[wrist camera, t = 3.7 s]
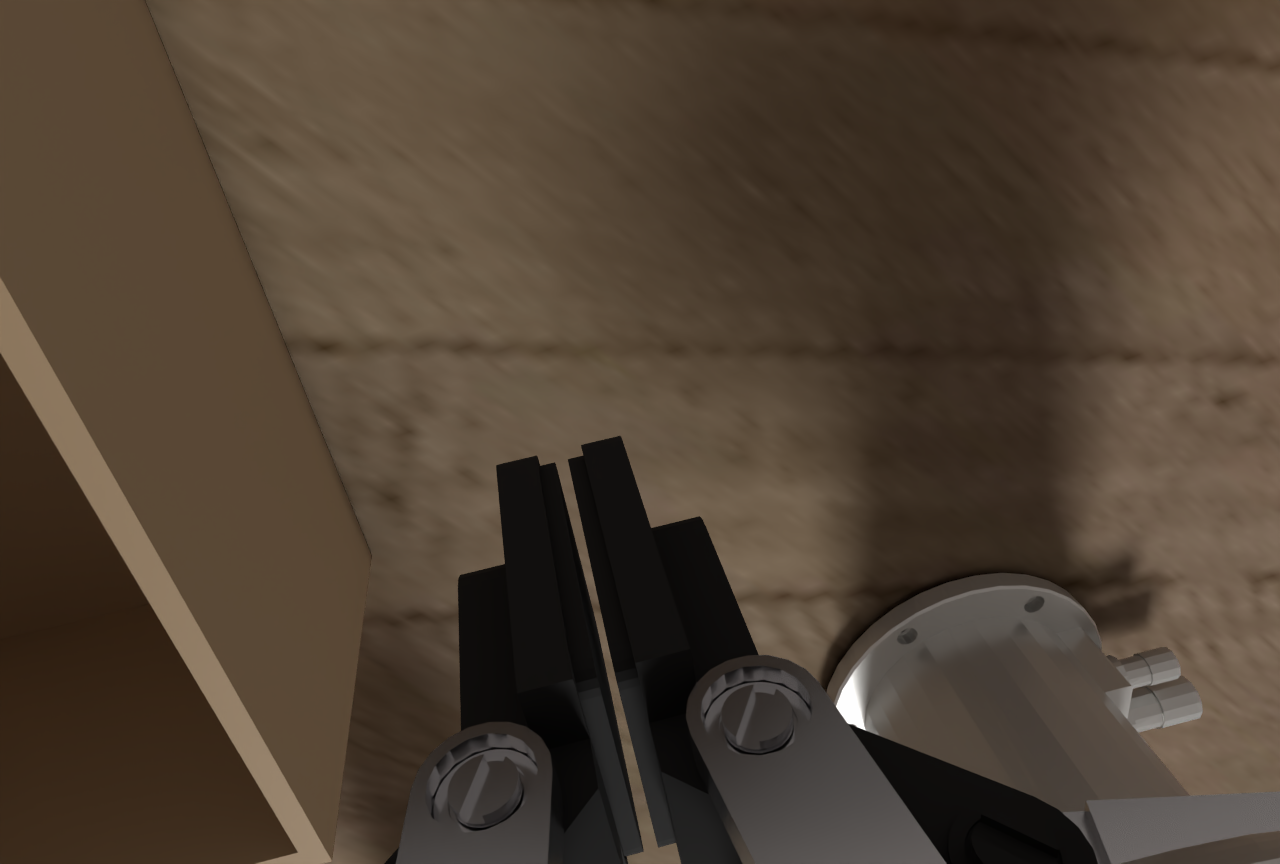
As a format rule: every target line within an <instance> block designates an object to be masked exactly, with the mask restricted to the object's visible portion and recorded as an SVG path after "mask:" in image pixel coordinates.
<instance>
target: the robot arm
mask: <svg viewBox="0 0 1280 864" xmlns="http://www.w3.org/2000/svg"><path fill="white" fill-rule="evenodd" d="M581 447H582V451H583V455H584V456H580V457H576V458H571V459H568V462H569V467H570V471H571V476H572V481H573V485H574V490H575V494H576V499H577V504H578V508H579V513H580V517H581V522H582V526H583V531H584V536H585V540H586V545H587V549H588V554H589V558H590V563H591V568H592V572H593V577H594V581H595V586H596V591H597V595H598V600H599V604H600V609H601V613H602V618H603V623H604V627H605V632H606V636H607V641H608V645H609V650H610V654H611V659H612V663H613V667H614V672H615V676H616V680H617V684H618V688H619V692H620V696H621V700H622V704H623V708H624V712H625V716H626V720H627V724H628V728H629V732H630V736H631V740H632V744H633V748H634V752H635V756H636V760H637V764H638V768H639V772H640V776H641V780H642V784H643V788H644V792H645V796H646V800H647V805H648V809H649V813H650V817H651V821H652V825H653V829H654V833H655V837H656V841H657V844H658V847H662V846H666V845H669V844H673V843H676V844H677V848H678V852H679V856H680V860H681V864H1280V792H1264V793H1242V794H1220V795H1198V796H1190V795H1189V794H1188V792H1187V791H1186V790H1185V789H1184V788H1183V786H1182V785H1181V784H1180V783H1179V782H1178V780H1177V779H1176V778H1175V777H1174V775H1173V774H1172V773H1171V772H1170V771H1169V769H1168V768H1167V767H1166V766H1165V765H1164V763H1163V762H1162V761H1161V760H1160V758H1159V757H1158V756H1157V755H1156V754H1155V752H1154V751H1153V750H1152V749H1151V748H1150V746H1149V745H1148V744H1147V743H1146V742H1145V740H1144V739H1143V738H1142V737H1141V735H1140V734H1139V733H1138V732H1142V731H1146V730H1149V729H1153V728H1156V729H1160V728H1164V727H1168V726H1171V725H1175V724H1179V723H1183V722H1186V721H1190V720H1194V719H1198V718H1200V717H1201V714H1202V712H1203V710H1202V702H1201V699H1200V697H1199V694H1198V692H1197V690H1196V689H1195V687H1194V686H1193V685H1192V683H1191V682H1190V681H1189V680H1188V679H1186V678H1185V677H1184V676H1180V675H1181V672H1180V665H1179V662H1178V660H1177V658H1176V656H1175V655H1174V653H1173V652H1172V651H1171V650H1170V649H1168V648H1167V647H1160V648H1156V649H1152V650H1148V651H1144V652H1141V653H1137V654H1134V655H1133V656H1132V657H1128V658H1124V659H1120V660H1118V659H1117V658H1115V657H1113V656H1111V655H1108V656H1105V654H1104V653H1103V652H1102V645H1101V638H1100V635H1099V632H1098V629H1097V626H1096V624H1095V622H1094V621H1093V619H1092V618H1091V617H1090V615H1089V614H1088V613H1087V611H1086V610H1085V609H1084V608H1083V607H1082V606H1081V605H1080V603H1079V602H1078V601H1077V600H1076V599H1075V598H1074V597H1073V596H1072V595H1071V594H1070V593H1069V592H1068V591H1066V590H1065V589H1063V588H1061V587H1059V586H1058V585H1056V584H1054V583H1052V582H1050V581H1048V580H1045V579H1041V578H1037V577H1034V576H1030V575H1025V574H1012V573H995V574H985V575H975V576H971V577H967V578H963V579H959V580H955V581H951V582H947V583H945V584H942V585H940V586H937V587H935V588H932V589H930V590H927V591H925V592H922V593H920V594H918V595H916V596H914V597H913V598H911V599H909V600H907V601H906V602H904V603H902V604H900V605H898V606H897V607H895V608H894V609H892V610H891V611H890V612H888V613H887V614H886V615H884V616H883V617H882V618H880V619H879V620H878V621H876V622H875V623H874V624H872V625H871V626H870V627H869V628H868V629H867V630H866V631H865V632H864V633H863V635H862V636H861V637H860V638H859V639H858V640H857V641H856V642H855V643H854V644H853V645H852V646H851V647H850V649H849V650H848V652H847V653H846V654H845V656H844V657H843V659H842V660H841V661H840V663H839V664H838V666H837V668H836V670H835V672H834V674H833V676H832V678H831V680H830V683H829V685H828V688H827V692H825V690H824V689H823V687H822V686H821V685H820V683H819V682H818V681H817V680H816V679H815V678H814V677H813V676H812V675H811V674H810V673H809V672H808V671H807V670H806V669H804V668H802V667H801V666H799V665H797V664H795V663H793V662H791V661H789V660H786V659H782V658H778V657H774V656H769V655H758V652H757V650H756V647H755V645H754V643H753V640H752V638H751V635H750V633H749V630H748V628H747V626H746V623H745V621H744V618H743V616H742V613H741V611H740V609H739V606H738V604H737V601H736V599H735V596H734V594H733V592H732V589H731V587H730V584H729V582H728V579H727V577H726V575H725V572H724V570H723V567H722V565H721V562H720V560H719V558H718V555H717V553H716V550H715V548H714V546H713V543H712V541H711V538H710V536H709V533H708V531H707V529H706V526H705V524H704V522H703V520H702V518H701V517H700V516H699V517H695V518H691V519H687V520H683V521H679V522H675V523H671V524H667V525H662V526H658V527H654V528H651V527H650V524H649V521H648V518H647V515H646V511H645V508H644V505H643V502H642V499H641V496H640V493H639V490H638V487H637V484H636V481H635V478H634V475H633V471H632V468H631V465H630V462H629V459H628V456H627V453H626V450H625V447H624V444H623V441H622V438H621V436H617V437H613V438H609V439H605V440H600V441H596V442H592V443H588V444H584V445H581ZM496 468H497V481H498V492H499V503H500V514H501V524H502V535H503V546H504V557H505V564H504V565H500V566H495V567H491V568H487V569H483V570H479V571H475V572H471V573H467V574H463V575H460V577H459V580H458V607H459V654H460V702H461V731H460V732H459V733H457V734H455V735H453V736H451V737H449V738H448V739H446V740H445V741H444V742H443V743H442V744H441V745H439V746H438V747H437V748H436V749H435V750H434V751H432V752H431V753H430V755H429V756H428V757H427V759H426V760H425V762H424V763H423V764H422V766H421V767H420V768H419V770H418V772H417V775H416V777H415V780H414V783H413V785H412V788H411V792H410V797H409V801H408V806H407V811H406V816H405V821H404V826H403V831H402V836H401V841H400V846H399V848H398V849H397V850H396V851H395V852H394V853H393V855H392V856H391V857H390V858H389V859H388V860H387V861H386V862H385V864H628V861H627V856H629V855H632V854H636V853H640V852H643V845H642V840H641V835H640V831H639V826H638V821H637V816H636V811H635V807H634V802H633V797H632V792H631V787H630V783H629V778H628V773H627V768H626V763H625V759H624V754H623V749H622V744H621V739H620V735H619V730H618V725H617V720H616V715H615V711H614V706H613V701H612V696H611V691H610V687H609V682H608V677H607V672H606V667H605V663H604V658H603V653H602V648H601V643H600V639H599V634H598V629H597V625H596V621H595V617H594V612H593V608H592V604H591V601H590V597H589V593H588V589H587V585H586V581H585V577H584V573H583V569H582V565H581V561H580V557H579V553H578V549H577V546H576V542H575V538H574V534H573V530H572V526H571V522H570V518H569V514H568V510H567V506H566V502H565V498H564V495H563V491H562V487H561V483H560V479H559V475H558V471H557V467H556V464H555V463H550V464H546V465H542V466H540V464H539V460H538V457H537V456H533V457H529V458H525V459H520V460H516V461H512V462H508V463H503V464H499V465H497V466H496Z"/></svg>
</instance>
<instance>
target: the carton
mask: <svg viewBox="0 0 1280 864" xmlns="http://www.w3.org/2000/svg"><path fill="white" fill-rule="evenodd" d="M371 558H372V555H371V553H370V550H369V548H368V545H367V543H366V540H365V538H364V535H363V533H362V531H361V528H360V526H359V523H358V521H357V518H356V516H355V513H354V511H353V509H352V506H351V504H350V501H349V499H348V496H347V494H346V491H345V489H344V487H343V484H342V482H341V479H340V477H339V474H338V472H337V469H336V467H335V464H334V462H333V460H332V457H331V455H330V452H329V450H328V447H327V445H326V442H325V440H324V438H323V435H322V433H321V430H320V428H319V425H318V423H317V420H316V418H315V416H314V413H313V411H312V408H311V406H310V403H309V401H308V398H307V396H306V394H305V391H304V389H303V386H302V384H301V381H300V379H299V376H298V374H297V372H296V369H295V367H294V364H293V362H292V359H291V357H290V354H289V352H288V350H287V347H286V345H285V342H284V340H283V337H282V335H281V332H280V330H279V327H278V325H277V323H276V320H275V318H274V315H273V313H272V310H271V308H270V305H269V303H268V301H267V298H266V296H265V293H264V291H263V288H262V286H261V283H260V281H259V279H258V276H257V274H256V271H255V269H254V266H253V264H252V261H251V259H250V257H249V254H248V252H247V249H246V247H245V244H244V242H243V239H242V237H241V235H240V232H239V230H238V227H237V225H236V222H235V220H234V217H233V215H232V212H231V210H230V208H229V205H228V203H227V200H226V198H225V195H224V193H223V190H222V188H221V186H220V183H219V181H218V178H217V176H216V173H215V171H214V168H213V166H212V164H211V161H210V159H209V156H208V154H207V151H206V149H205V146H204V144H203V142H202V139H201V137H200V134H199V132H198V129H197V127H196V124H195V122H194V120H193V117H192V115H191V112H190V110H189V107H188V105H187V102H186V100H185V97H184V95H183V93H182V90H181V88H180V85H179V83H178V80H177V78H176V75H175V73H174V71H173V68H172V66H171V63H170V61H169V58H168V56H167V53H166V51H165V49H164V46H163V44H162V41H161V39H160V36H159V34H158V31H157V29H156V27H155V24H154V22H153V19H152V17H151V14H150V12H149V9H148V7H147V5H146V2H145V0H0V864H323V863H327V862H331V861H332V857H333V850H334V842H335V834H336V827H337V819H338V811H339V804H340V796H341V788H342V780H343V773H344V765H345V757H346V750H347V742H348V734H349V727H350V719H351V711H352V704H353V696H354V688H355V681H356V673H357V665H358V658H359V650H360V642H361V635H362V627H363V619H364V612H365V604H366V596H367V589H368V581H369V573H370V566H371Z"/></svg>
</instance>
